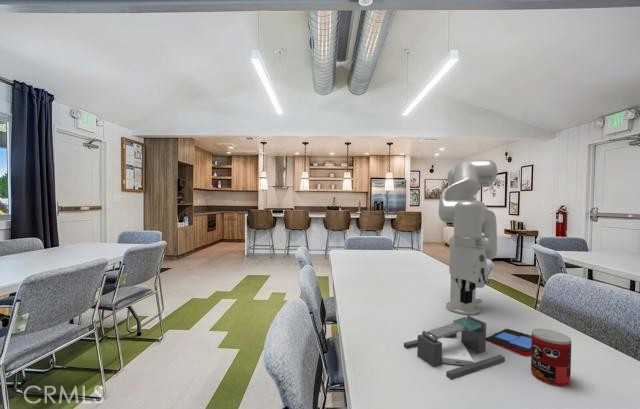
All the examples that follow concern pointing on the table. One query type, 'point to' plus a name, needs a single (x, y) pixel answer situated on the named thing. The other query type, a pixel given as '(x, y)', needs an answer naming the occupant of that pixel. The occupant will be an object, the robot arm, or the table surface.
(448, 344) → the external hard drive
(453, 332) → the rectangular panel
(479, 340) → the socket frame
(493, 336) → the game console
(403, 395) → the table surface
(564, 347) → the canned food
